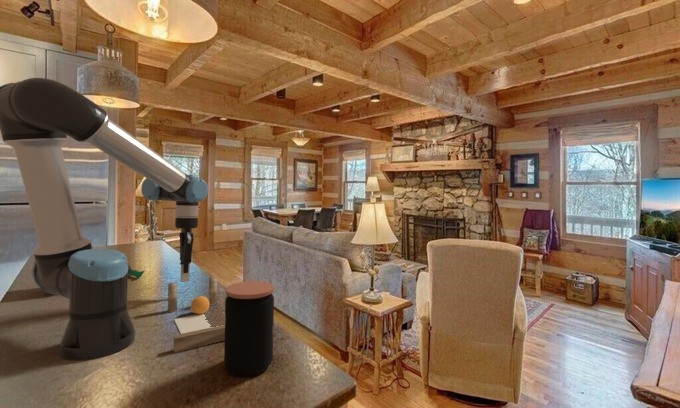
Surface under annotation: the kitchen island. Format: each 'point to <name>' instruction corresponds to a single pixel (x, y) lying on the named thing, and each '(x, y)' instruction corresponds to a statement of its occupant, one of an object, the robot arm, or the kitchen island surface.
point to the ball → (200, 305)
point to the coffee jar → (248, 327)
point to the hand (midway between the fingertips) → (184, 281)
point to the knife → (134, 272)
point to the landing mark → (192, 323)
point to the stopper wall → (198, 338)
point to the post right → (212, 290)
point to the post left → (172, 297)
